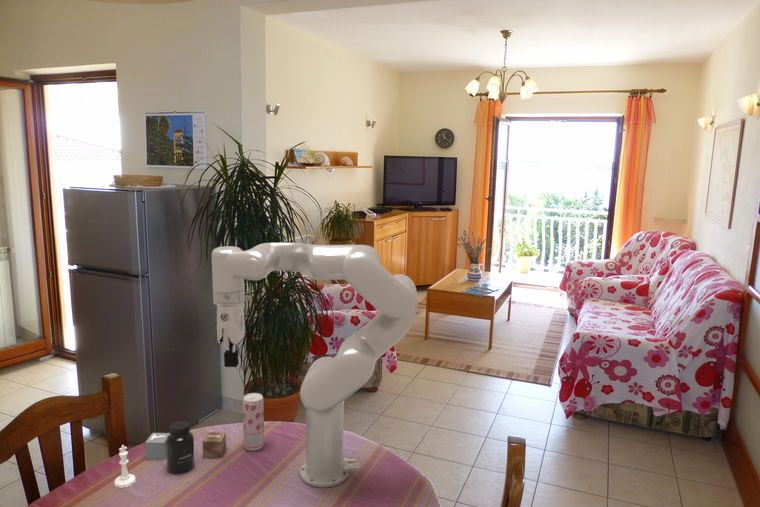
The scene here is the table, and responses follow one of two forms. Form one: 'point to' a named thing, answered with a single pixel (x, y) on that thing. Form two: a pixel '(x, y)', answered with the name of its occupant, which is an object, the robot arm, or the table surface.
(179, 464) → the supplement bottle
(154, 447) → the slate-grey numbered block
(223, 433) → the walnut numbered block
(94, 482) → the table surface
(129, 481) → the chess piece
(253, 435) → the beverage can
